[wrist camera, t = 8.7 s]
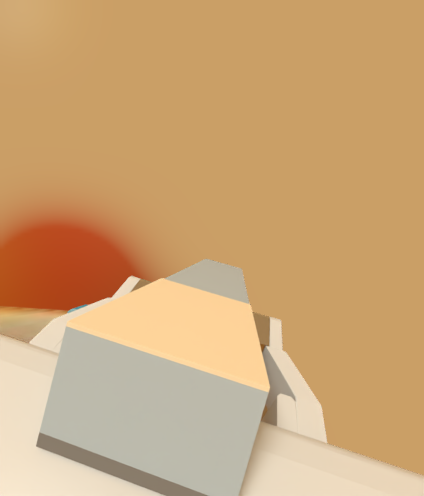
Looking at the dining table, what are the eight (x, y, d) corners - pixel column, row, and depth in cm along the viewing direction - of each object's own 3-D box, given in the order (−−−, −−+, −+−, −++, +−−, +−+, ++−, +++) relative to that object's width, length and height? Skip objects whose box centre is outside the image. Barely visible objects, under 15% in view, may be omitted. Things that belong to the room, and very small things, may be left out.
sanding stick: (36, 445, 5) (67, 320, 5) (200, 280, 27) (206, 257, 27) (231, 520, 4) (270, 386, 4) (235, 291, 26) (241, 267, 26)
